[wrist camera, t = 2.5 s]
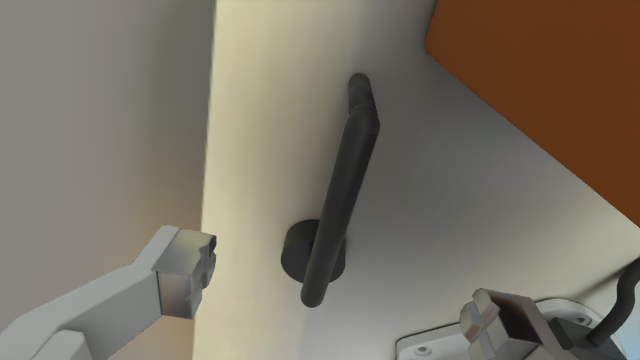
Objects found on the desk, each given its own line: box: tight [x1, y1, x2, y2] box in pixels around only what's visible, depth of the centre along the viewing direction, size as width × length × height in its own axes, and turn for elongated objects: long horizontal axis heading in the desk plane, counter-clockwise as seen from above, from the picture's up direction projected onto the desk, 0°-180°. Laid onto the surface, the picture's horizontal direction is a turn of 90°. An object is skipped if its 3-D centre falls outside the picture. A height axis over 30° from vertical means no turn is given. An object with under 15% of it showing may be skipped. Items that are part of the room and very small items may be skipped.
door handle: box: [281, 74, 380, 308], centre depth 19 cm, size 16×5×7 cm, turn 168°
